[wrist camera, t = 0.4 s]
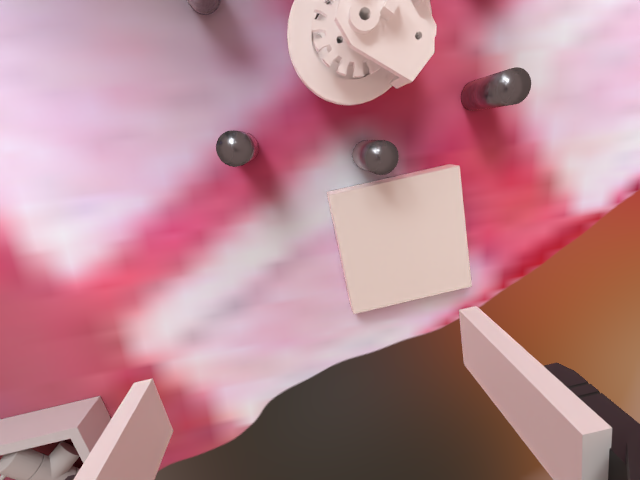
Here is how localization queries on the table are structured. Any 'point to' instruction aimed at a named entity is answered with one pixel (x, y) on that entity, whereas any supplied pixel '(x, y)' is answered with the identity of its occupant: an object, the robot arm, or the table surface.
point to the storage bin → (56, 427)
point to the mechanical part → (359, 46)
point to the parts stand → (402, 237)
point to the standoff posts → (381, 153)
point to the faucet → (40, 464)
